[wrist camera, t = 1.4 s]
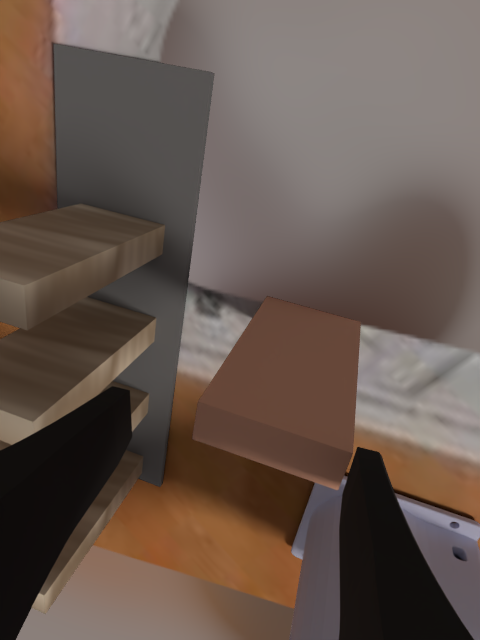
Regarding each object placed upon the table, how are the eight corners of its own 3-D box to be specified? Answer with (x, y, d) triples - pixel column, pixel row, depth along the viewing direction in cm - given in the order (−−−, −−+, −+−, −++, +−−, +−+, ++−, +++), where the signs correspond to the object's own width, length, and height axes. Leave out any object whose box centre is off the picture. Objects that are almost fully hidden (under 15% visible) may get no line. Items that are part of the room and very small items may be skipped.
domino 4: (267, 295, 22) (197, 401, 13) (360, 321, 21) (352, 453, 12) (261, 322, 23) (192, 439, 14) (351, 348, 22) (338, 490, 13)
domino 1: (81, 203, 23) (-104, 246, 14) (165, 225, 22) (24, 285, 13) (81, 232, 23) (-96, 290, 14) (162, 254, 22) (27, 330, 14)
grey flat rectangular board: (214, 73, 19) (211, 72, 18) (162, 482, 30) (160, 486, 30) (59, 45, 20) (53, 43, 20) (66, 446, 32) (63, 450, 31)
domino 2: (80, 295, 25) (-77, 381, 16) (156, 317, 24) (33, 421, 15) (80, 318, 26) (-70, 413, 17) (154, 341, 25) (34, 453, 16)
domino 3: (80, 433, 30) (-41, 557, 21) (143, 456, 29) (44, 595, 20) (80, 449, 31) (-37, 575, 22) (142, 472, 30) (45, 614, 21)
